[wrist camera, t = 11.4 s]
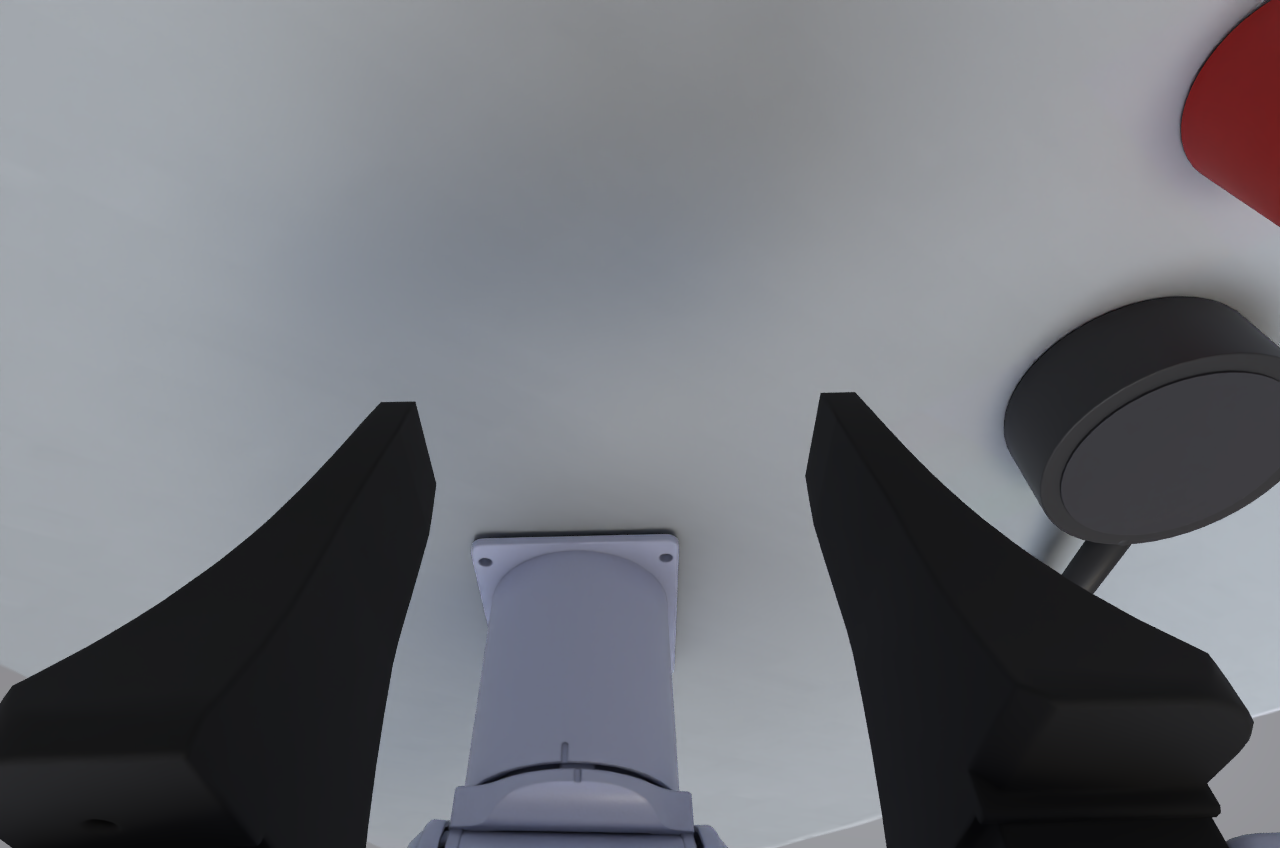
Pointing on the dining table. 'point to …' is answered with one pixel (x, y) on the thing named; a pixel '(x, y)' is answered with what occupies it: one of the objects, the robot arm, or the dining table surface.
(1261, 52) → the pepper
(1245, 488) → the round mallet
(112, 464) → the dining table surface
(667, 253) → the dining table surface
